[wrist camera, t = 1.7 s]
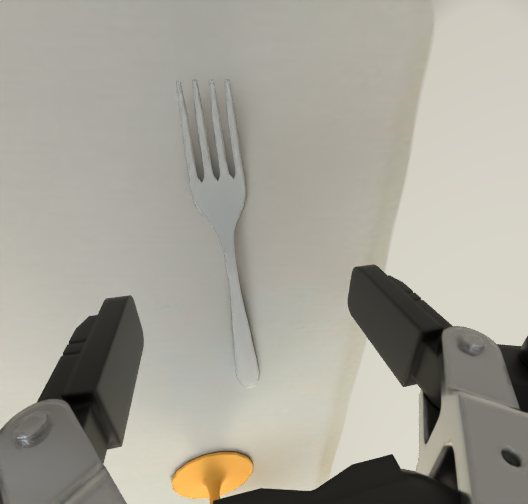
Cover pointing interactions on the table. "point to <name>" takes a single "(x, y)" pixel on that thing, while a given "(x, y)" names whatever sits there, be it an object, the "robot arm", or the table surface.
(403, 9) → the table surface
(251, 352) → the fork
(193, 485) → the cup
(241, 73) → the table surface
